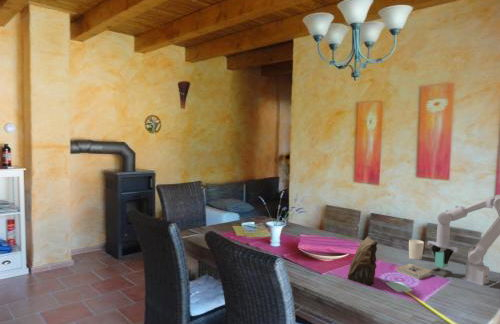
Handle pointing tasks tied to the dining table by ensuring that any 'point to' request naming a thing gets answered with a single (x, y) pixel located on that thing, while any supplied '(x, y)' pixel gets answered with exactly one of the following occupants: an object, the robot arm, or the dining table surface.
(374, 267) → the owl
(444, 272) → the dark brown square tray
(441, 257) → the mint green block
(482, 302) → the dining table surface
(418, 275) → the port
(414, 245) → the beige tapered cup
